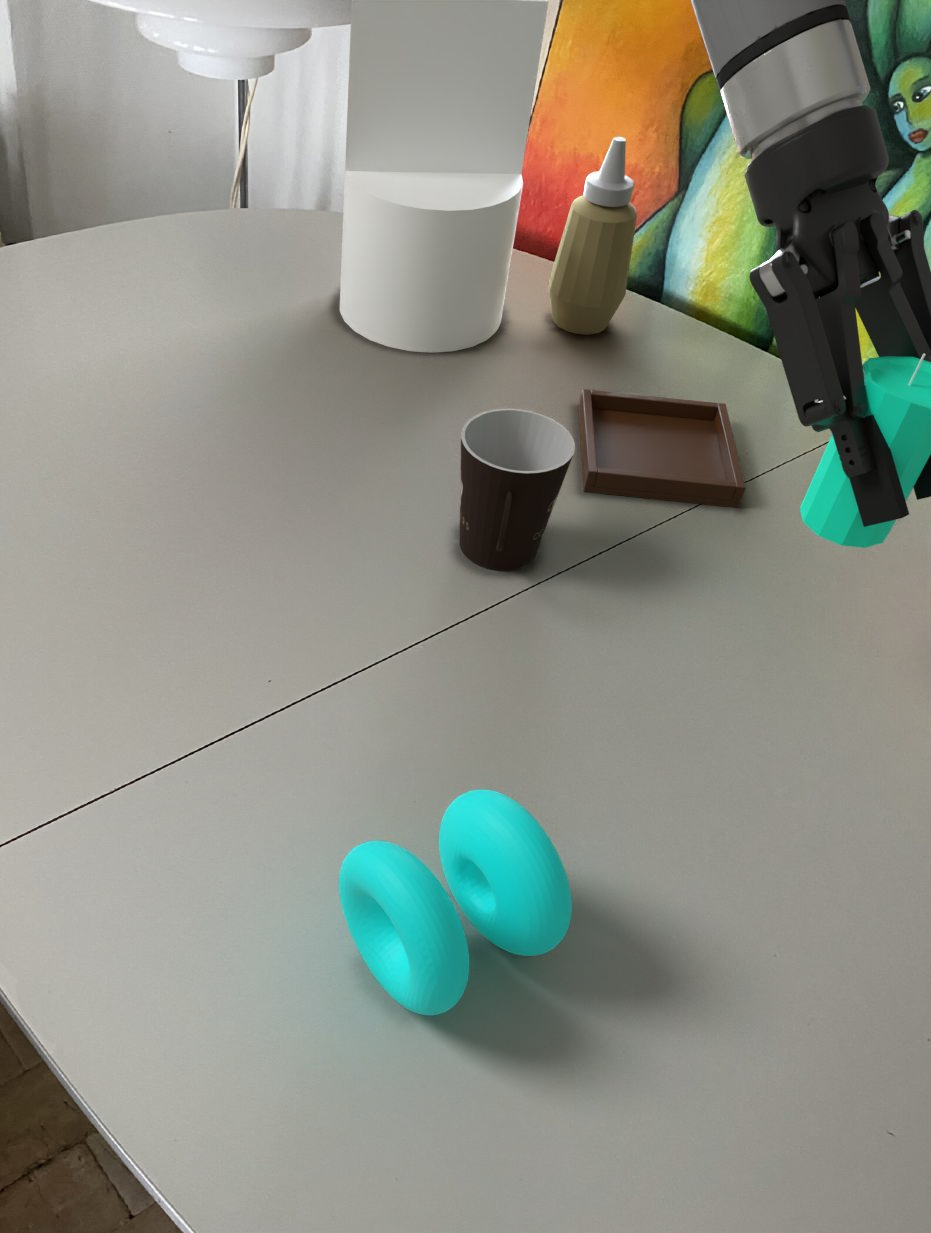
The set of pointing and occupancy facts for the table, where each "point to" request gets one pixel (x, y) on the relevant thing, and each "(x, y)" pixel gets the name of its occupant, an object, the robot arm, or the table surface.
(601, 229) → the squeeze bottle
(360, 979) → the table surface
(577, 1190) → the table surface
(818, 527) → the candle
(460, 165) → the cylinder
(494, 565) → the coffee mug
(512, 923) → the donuts
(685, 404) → the walnut tray
